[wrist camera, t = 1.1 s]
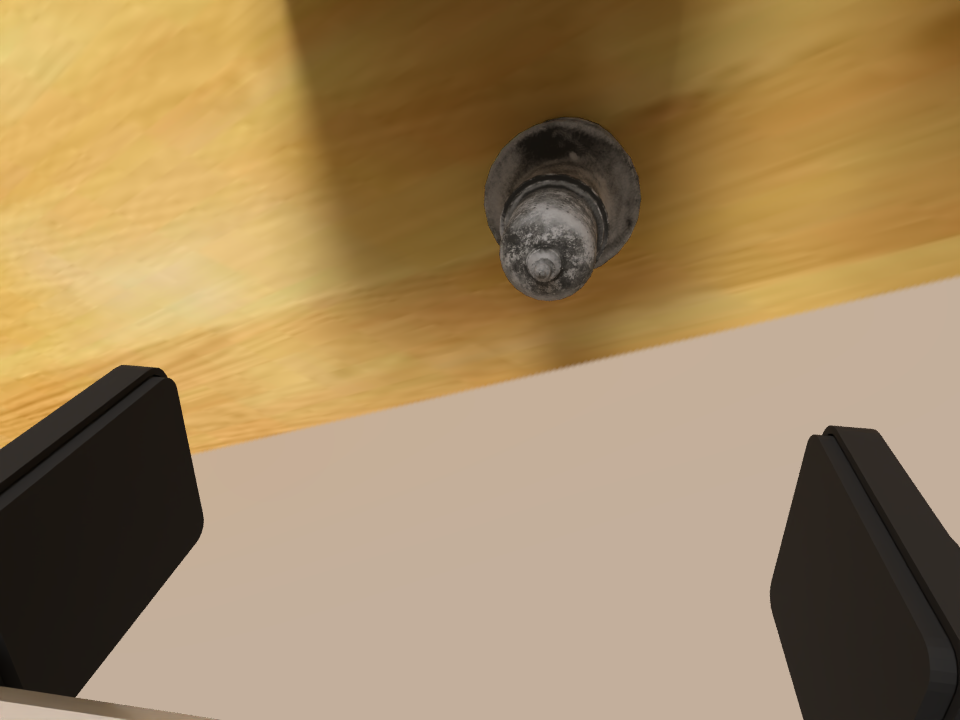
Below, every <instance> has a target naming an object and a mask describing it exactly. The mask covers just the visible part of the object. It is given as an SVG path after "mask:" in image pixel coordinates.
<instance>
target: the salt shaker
mask: <svg viewBox="0 0 960 720" xmlns="http://www.w3.org/2000/svg"><path fill="white" fill-rule="evenodd" d="M640 202H641V193H640V185H639V177H638V175H637V172H636V170H635V167H634V165H633V163H632V160H631V158H630V156H629V155H628V154H627V153H626V151H625V150H624V149H623V148H622V146H621V145H620V144H619V143H618V141H617V140H616V139H615V138H614V137H613V136H612V134H611V133H609V132H608V131H606V130H605V129H604V128H602V127H601V126H599V125H598V124H596V123H593V122H591V121H588V120H585V119H582V118H573V117H561V118H556V119H552V120H547V121H545V122H543V123H541V124H537V125H535V126H533V127H531V128H529V129H527V130H525V131H523V132H521V133H519V134H518V135H517V136H516V137H514V138H513V139H512V140H511V141H510V142H509V143H508V144H507V145H506V146H505V147H504V148H503V149H502V150H501V152H500V153H499V155H498V156H497V158H496V159H495V161H494V163H493V164H492V166H491V169H490V172H489V175H488V178H487V181H486V184H485V198H484V207H485V212H486V217H487V221H488V226H489V228H490V229H491V231H492V233H493V235H494V237H495V239H496V241H497V243H498V244H499V245H500V253H499V255H500V260H501V264H502V268H503V271H504V273H505V275H506V277H507V278H508V280H509V281H510V282H511V283H512V285H513V286H514V287H515V288H516V289H517V290H519V291H520V292H522V293H523V294H525V295H526V296H529V297H532V298H534V299H537V300H545V301H553V300H560V299H563V298H566V297H568V296H571V295H573V294H574V293H575V292H577V291H578V290H579V289H581V288H582V287H583V286H584V284H585V283H586V282H587V280H588V279H589V278H590V277H591V274H592V272H593V269H595V268H597V267H600V266H602V265H603V264H604V263H606V262H607V261H608V260H610V259H611V258H612V257H613V256H615V255H616V254H617V253H618V252H619V251H620V250H621V248H622V247H623V246H624V244H625V243H626V242H627V241H628V239H629V238H630V236H631V234H632V232H633V229H634V227H635V225H636V222H637V220H638V216H639V209H640Z"/></svg>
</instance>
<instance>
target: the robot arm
mask: <svg viewBox="0 0 960 720" xmlns="http://www.w3.org/2000/svg"><path fill="white" fill-rule="evenodd" d="M203 523H204V519H203V512H202V507H201V502H200V497H199V493H198V488H197V483H196V478H195V474H194V468H193V463H192V459H191V454H190V449H189V444H188V439H187V434H186V430H185V425H184V420H183V415H182V410H181V405H180V400H179V396H178V391H177V387H176V384H175V382H174V381H173V380H172V379H170V378H167V375H166V374H165V373H164V371H163V370H161V369H160V368H153V367H142V366H130V365H121V366H119V367H116V368H115V369H113V370H112V371H111V372H109V373H108V374H106V375H105V376H104V377H102V378H101V379H99V380H98V381H96V382H95V383H94V384H92V385H91V386H89V387H88V388H87V389H85V390H84V391H82V392H81V393H79V394H78V395H77V396H75V397H74V398H72V399H71V400H70V401H68V402H67V403H65V404H64V405H63V406H61V407H60V408H58V409H57V410H55V411H54V412H53V413H51V414H50V415H48V416H47V417H46V418H44V419H43V420H41V421H40V422H38V423H37V424H36V425H34V426H33V427H31V428H30V429H29V430H27V431H26V432H24V433H23V434H21V435H20V436H19V437H17V438H16V439H14V440H13V441H12V442H10V443H9V444H7V445H6V446H5V447H3V448H2V449H0V720H217V719H211V718H205V717H199V716H192V715H186V714H179V713H173V712H166V711H160V710H153V709H146V708H140V707H134V706H127V705H120V704H114V703H107V702H100V701H94V700H88V699H81V698H75V697H76V696H77V695H78V693H79V692H80V691H81V689H82V688H83V687H84V686H85V684H86V683H87V682H88V681H89V679H90V678H91V677H92V675H93V674H94V673H95V672H96V670H97V669H98V668H99V666H100V665H101V664H102V662H103V661H104V660H105V659H106V657H107V656H108V655H109V654H110V652H111V651H112V650H113V649H114V647H115V646H116V645H117V643H118V642H119V641H120V640H121V638H122V637H123V636H124V634H125V633H126V632H127V631H128V629H129V628H130V627H131V625H132V624H133V623H134V622H135V620H136V619H137V618H138V616H139V615H140V614H141V612H142V611H143V610H144V609H145V608H146V606H147V605H148V604H149V602H150V601H151V600H152V599H153V597H154V596H155V595H156V593H157V592H158V591H159V590H160V588H161V587H162V586H163V585H164V583H165V582H166V581H167V579H168V578H169V577H170V576H171V574H172V573H173V572H174V570H175V569H176V568H177V567H178V565H179V564H180V563H181V561H182V560H183V559H184V557H185V556H186V555H187V554H188V553H189V551H190V550H191V549H192V547H193V546H194V545H195V544H196V542H197V541H198V539H199V537H200V535H201V533H202V529H203ZM770 603H771V609H772V613H773V617H774V620H775V623H776V627H777V630H778V634H779V637H780V641H781V644H782V648H783V651H784V654H785V658H786V661H787V665H788V668H789V672H790V675H791V678H792V682H793V685H794V689H795V692H796V695H797V699H798V702H799V706H800V709H801V712H802V716H803V719H804V720H960V547H959V546H958V544H957V543H956V542H955V541H954V540H953V539H952V538H951V537H950V536H949V534H948V533H947V531H946V530H945V528H944V527H943V526H942V524H941V523H940V521H939V520H938V518H937V517H936V515H935V514H934V513H933V511H932V509H931V508H930V507H929V505H928V504H927V502H926V501H925V499H924V498H923V496H922V495H921V493H920V492H919V490H918V489H917V487H916V486H915V485H914V483H913V482H912V480H911V479H910V477H909V476H908V474H907V473H906V471H905V470H904V469H903V467H902V465H901V464H900V463H899V461H898V460H897V458H896V457H895V455H894V454H893V452H892V451H891V449H890V448H889V446H888V445H887V444H886V442H885V441H884V439H883V438H882V436H881V435H880V433H878V431H876V430H874V429H866V428H854V427H853V428H852V427H842V426H828V427H827V428H826V429H825V431H824V432H823V434H822V435H812V436H811V437H810V438H809V440H808V443H807V446H806V450H805V454H804V458H803V462H802V466H801V470H800V473H799V477H798V481H797V485H796V489H795V493H794V497H793V500H792V504H791V508H790V512H789V516H788V520H787V523H786V527H785V531H784V535H783V539H782V543H781V547H780V551H779V554H778V558H777V562H776V566H775V570H774V574H773V578H772V582H771V587H770Z"/></svg>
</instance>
